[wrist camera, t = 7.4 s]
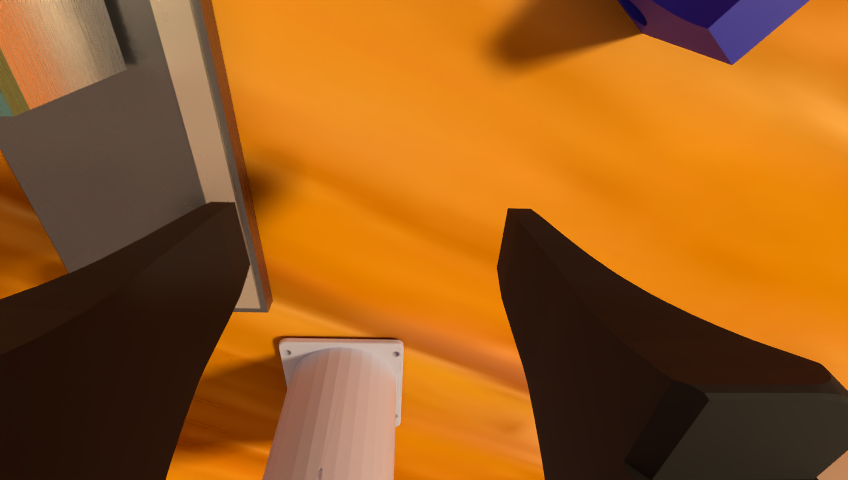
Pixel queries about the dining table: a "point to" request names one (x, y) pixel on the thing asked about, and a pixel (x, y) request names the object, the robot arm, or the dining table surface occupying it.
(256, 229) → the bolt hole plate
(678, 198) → the dining table surface
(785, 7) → the cable clip
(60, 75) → the leg
